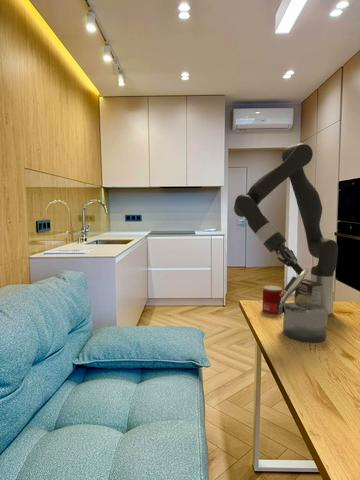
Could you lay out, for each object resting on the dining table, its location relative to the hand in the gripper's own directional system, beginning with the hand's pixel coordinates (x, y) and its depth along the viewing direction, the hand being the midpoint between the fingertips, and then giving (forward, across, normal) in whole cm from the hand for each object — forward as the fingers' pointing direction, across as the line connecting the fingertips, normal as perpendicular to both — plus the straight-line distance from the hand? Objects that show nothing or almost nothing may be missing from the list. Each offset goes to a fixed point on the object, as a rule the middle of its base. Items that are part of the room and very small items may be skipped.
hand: (301, 273), depth 120 cm
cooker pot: (+18, 0, +14) cm, 23 cm away
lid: (+3, 0, +5) cm, 6 cm away
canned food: (+5, +18, +28) cm, 34 cm away
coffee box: (+16, +17, +17) cm, 29 cm away
